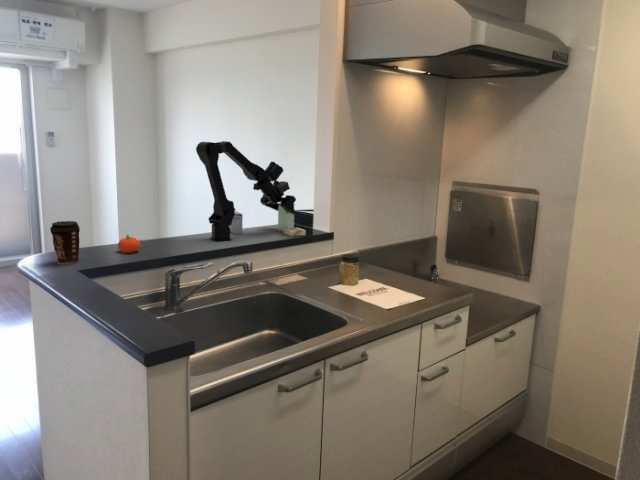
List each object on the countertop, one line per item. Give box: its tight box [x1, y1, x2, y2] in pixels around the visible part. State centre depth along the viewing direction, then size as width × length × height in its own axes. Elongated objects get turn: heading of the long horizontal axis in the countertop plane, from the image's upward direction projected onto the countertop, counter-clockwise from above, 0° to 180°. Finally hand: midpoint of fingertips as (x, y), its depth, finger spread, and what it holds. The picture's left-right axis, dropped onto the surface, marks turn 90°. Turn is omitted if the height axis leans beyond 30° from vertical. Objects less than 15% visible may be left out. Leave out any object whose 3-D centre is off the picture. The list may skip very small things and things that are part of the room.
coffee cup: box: [49, 220, 81, 266], centre depth 168 cm, size 9×8×13 cm
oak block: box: [282, 227, 306, 237], centre depth 226 cm, size 7×7×2 cm
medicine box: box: [229, 210, 244, 235], centre depth 226 cm, size 8×4×9 cm, turn 25°
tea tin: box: [277, 202, 295, 232], centre depth 233 cm, size 5×5×12 cm
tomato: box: [117, 234, 141, 254], centre depth 185 cm, size 7×8×6 cm
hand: (287, 212), depth 233 cm, fingers open, 9 cm apart
